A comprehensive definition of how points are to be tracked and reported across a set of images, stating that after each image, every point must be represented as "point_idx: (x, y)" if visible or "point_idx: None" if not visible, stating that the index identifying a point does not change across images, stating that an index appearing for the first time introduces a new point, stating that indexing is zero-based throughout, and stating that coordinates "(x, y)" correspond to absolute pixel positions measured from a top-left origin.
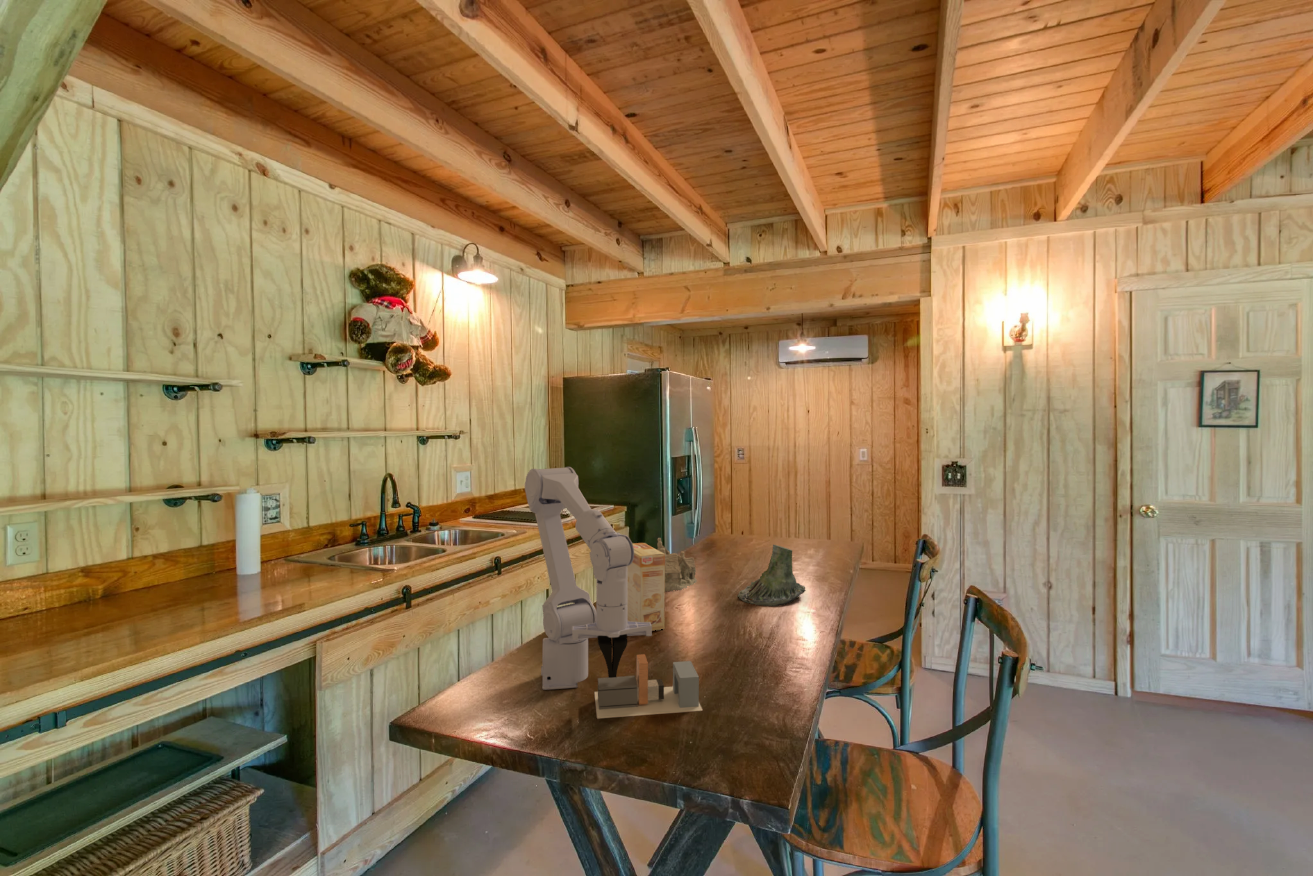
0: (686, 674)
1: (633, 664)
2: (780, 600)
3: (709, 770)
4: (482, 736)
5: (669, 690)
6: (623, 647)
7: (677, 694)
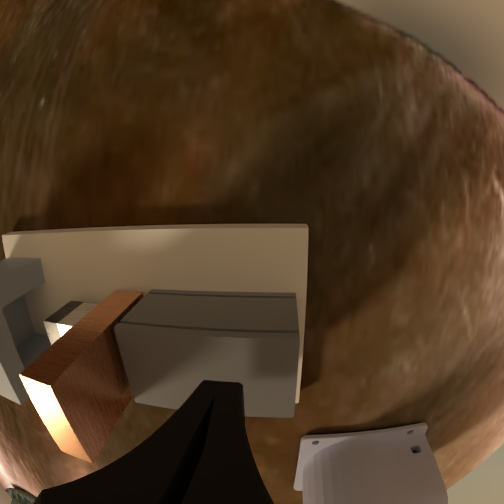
0: None
1: None
2: (21, 493)
3: (46, 5)
4: None
5: None
6: (65, 494)
7: None
